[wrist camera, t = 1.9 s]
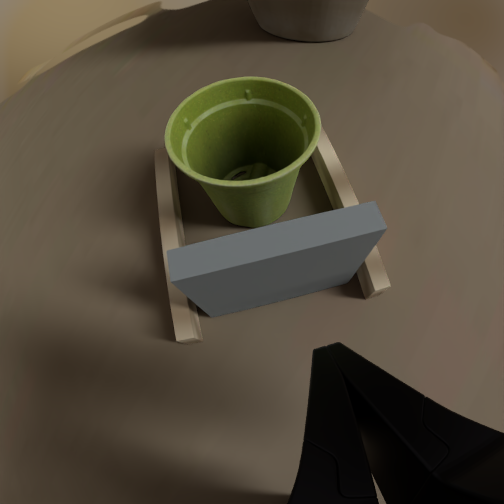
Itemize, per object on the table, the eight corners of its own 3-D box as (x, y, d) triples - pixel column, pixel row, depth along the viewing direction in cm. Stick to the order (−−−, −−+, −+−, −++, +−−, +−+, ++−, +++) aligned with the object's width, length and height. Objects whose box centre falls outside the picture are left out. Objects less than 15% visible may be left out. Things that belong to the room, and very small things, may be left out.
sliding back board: (347, 282, 22) (387, 228, 13) (211, 317, 22) (170, 281, 13) (332, 237, 23) (357, 164, 15) (202, 269, 23) (161, 209, 15)
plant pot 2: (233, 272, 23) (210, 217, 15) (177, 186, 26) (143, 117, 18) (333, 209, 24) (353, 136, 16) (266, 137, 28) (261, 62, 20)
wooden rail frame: (379, 295, 21) (390, 285, 19) (187, 344, 21) (176, 341, 19) (313, 132, 27) (315, 114, 25) (162, 167, 27) (154, 150, 25)
